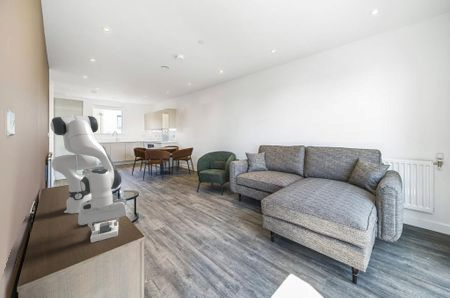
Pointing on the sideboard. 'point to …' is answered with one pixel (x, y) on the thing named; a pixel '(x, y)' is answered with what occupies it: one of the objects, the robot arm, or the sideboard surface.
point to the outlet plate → (113, 232)
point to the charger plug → (104, 227)
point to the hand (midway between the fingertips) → (104, 228)
